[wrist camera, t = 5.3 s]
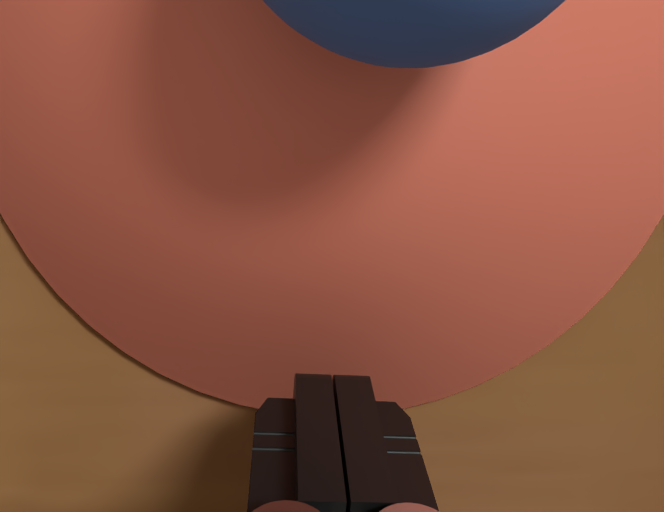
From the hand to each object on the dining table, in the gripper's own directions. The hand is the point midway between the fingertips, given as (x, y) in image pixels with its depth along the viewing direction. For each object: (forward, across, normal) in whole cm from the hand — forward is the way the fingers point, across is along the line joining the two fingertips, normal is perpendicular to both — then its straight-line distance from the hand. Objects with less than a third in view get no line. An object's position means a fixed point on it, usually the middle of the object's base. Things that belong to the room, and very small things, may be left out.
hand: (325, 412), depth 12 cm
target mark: (+2, 0, -6) cm, 6 cm away
